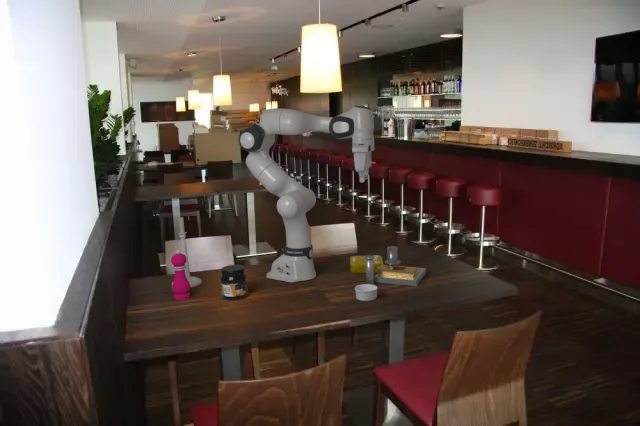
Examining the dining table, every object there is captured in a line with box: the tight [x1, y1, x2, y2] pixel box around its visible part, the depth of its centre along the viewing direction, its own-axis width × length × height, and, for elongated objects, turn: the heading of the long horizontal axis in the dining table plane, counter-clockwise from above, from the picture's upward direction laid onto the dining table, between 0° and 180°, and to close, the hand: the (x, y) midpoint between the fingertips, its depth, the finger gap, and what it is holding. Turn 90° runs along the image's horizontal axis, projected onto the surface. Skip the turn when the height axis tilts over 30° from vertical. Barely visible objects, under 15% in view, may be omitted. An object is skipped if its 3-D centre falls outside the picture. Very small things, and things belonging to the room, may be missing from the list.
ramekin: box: [354, 283, 378, 302], centre depth 204 cm, size 9×9×4 cm
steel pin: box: [364, 254, 375, 285], centre depth 220 cm, size 4×4×12 cm
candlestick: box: [171, 216, 202, 288], centre depth 228 cm, size 13×13×30 cm
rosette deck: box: [374, 245, 427, 287], centre depth 226 cm, size 18×18×12 cm
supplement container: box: [219, 264, 249, 301], centre depth 210 cm, size 10×10×12 cm
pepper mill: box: [170, 249, 191, 301], centre depth 210 cm, size 7×7×20 cm
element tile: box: [349, 254, 384, 274], centre depth 244 cm, size 15×15×5 cm
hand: (364, 180), depth 214 cm, fingers open, 8 cm apart
